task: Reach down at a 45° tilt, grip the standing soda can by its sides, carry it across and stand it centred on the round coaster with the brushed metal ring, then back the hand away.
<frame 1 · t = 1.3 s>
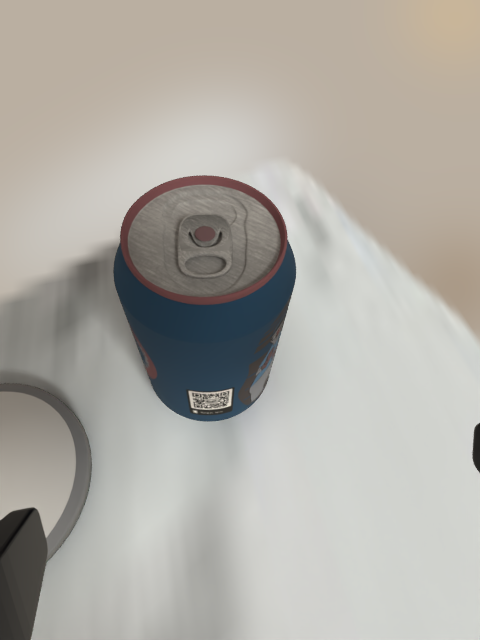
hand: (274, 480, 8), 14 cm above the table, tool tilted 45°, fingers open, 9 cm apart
soda can: (210, 372, 24), on the table
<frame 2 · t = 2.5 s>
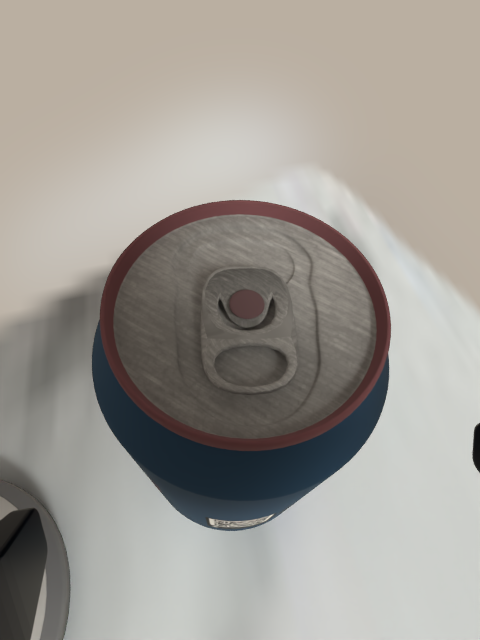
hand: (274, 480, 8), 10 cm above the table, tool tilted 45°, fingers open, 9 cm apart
soda can: (230, 447, 18), on the table
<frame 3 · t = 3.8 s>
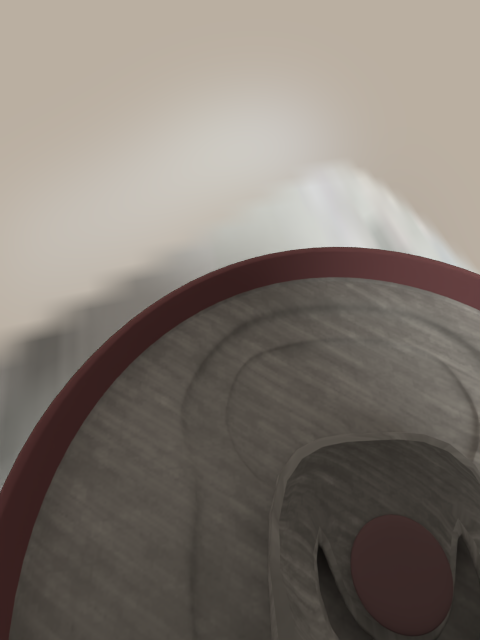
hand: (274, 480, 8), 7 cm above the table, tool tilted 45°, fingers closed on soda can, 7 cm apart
soda can: (256, 558, 13), on the table, touching gripper
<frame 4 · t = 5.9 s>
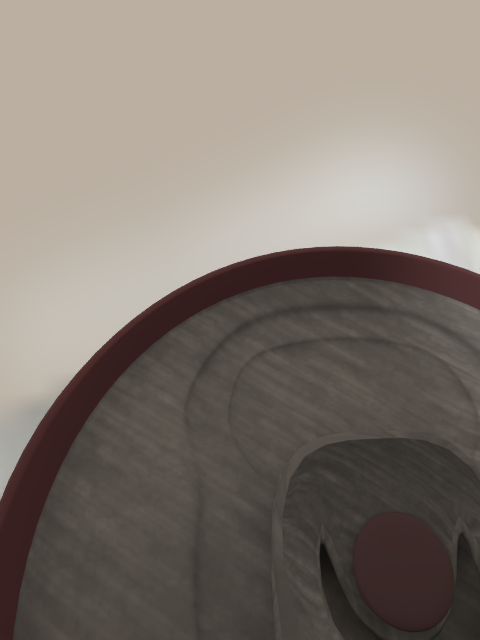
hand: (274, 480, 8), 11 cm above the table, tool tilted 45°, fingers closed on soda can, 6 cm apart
soda can: (254, 557, 13), point 4 cm above the table, touching gripper
when the fingers open (8 cm above the table, at t = 7.7 s): soda can stays where it is, resting on ring coaster.
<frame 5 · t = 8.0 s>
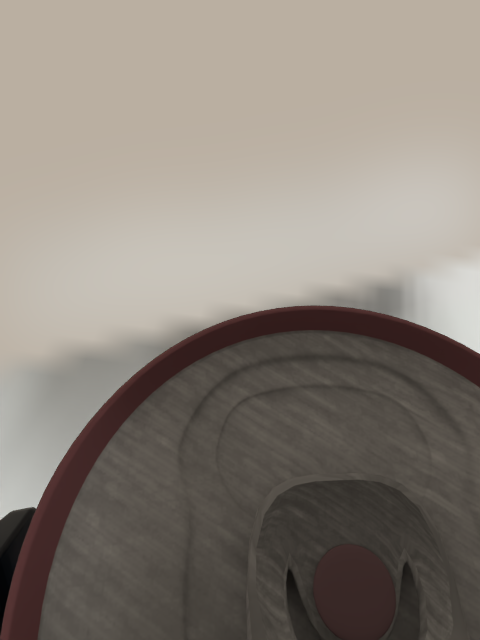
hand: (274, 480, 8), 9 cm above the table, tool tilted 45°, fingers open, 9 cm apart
soda can: (250, 564, 14), point 1 cm above the table, touching ring coaster
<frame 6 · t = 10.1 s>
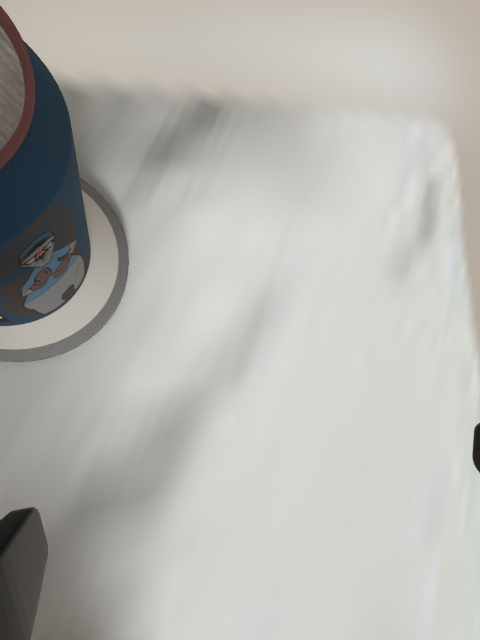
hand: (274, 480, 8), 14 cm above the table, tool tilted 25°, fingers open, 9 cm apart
ring coaster: (24, 261, 20), on the table
soda can: (14, 259, 19), point 1 cm above the table, touching ring coaster
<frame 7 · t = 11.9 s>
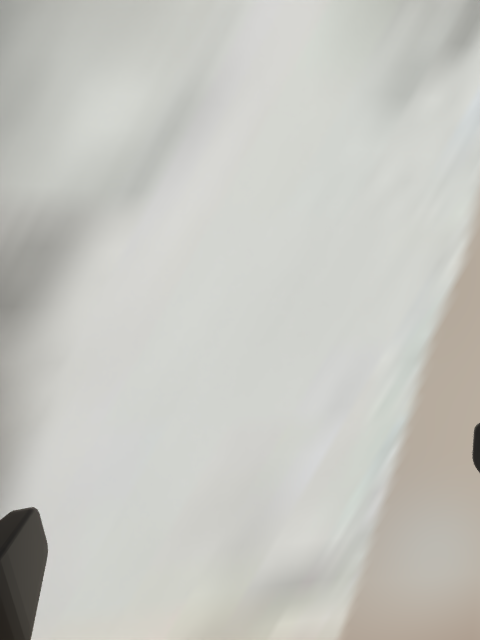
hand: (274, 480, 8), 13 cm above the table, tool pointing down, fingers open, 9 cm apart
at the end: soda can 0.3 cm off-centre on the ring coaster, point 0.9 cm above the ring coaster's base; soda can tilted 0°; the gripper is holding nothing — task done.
